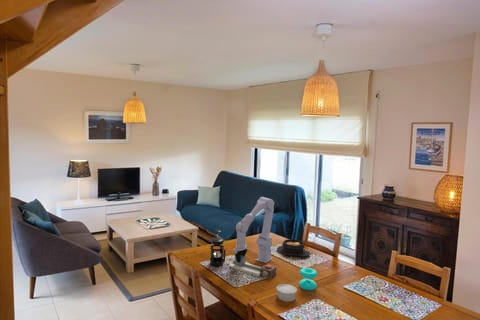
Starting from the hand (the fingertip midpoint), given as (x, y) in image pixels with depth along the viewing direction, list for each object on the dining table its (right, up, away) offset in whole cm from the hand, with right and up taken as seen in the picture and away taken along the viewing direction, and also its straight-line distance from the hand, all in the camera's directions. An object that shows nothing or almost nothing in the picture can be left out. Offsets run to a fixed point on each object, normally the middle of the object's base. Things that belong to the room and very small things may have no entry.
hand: (240, 261), depth 216 cm
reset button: (+17, -4, -11) cm, 21 cm away
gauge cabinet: (+17, -6, -11) cm, 21 cm away
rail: (+5, -4, -3) cm, 7 cm away
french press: (-15, -3, +3) cm, 16 cm away
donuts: (+39, -8, -25) cm, 47 cm away
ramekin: (+25, -9, -38) cm, 46 cm away
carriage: (0, -2, 0) cm, 2 cm away
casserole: (+39, -4, +30) cm, 49 cm away
